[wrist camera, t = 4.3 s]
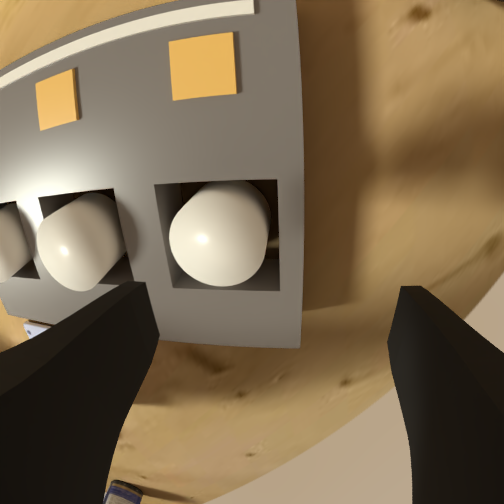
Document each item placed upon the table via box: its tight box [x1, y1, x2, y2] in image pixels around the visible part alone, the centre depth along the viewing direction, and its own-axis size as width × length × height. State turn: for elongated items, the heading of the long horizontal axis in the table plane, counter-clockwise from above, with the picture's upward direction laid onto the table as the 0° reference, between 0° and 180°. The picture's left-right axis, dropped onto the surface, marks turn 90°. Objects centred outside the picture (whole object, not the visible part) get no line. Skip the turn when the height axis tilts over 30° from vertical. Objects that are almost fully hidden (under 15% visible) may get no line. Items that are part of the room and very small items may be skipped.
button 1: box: [169, 180, 271, 286], centre depth 14 cm, size 4×4×3 cm
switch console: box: [0, 0, 304, 348], centre depth 15 cm, size 16×21×3 cm
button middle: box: [37, 193, 127, 291], centre depth 14 cm, size 4×4×3 cm
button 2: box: [0, 203, 33, 283], centre depth 15 cm, size 4×4×3 cm
